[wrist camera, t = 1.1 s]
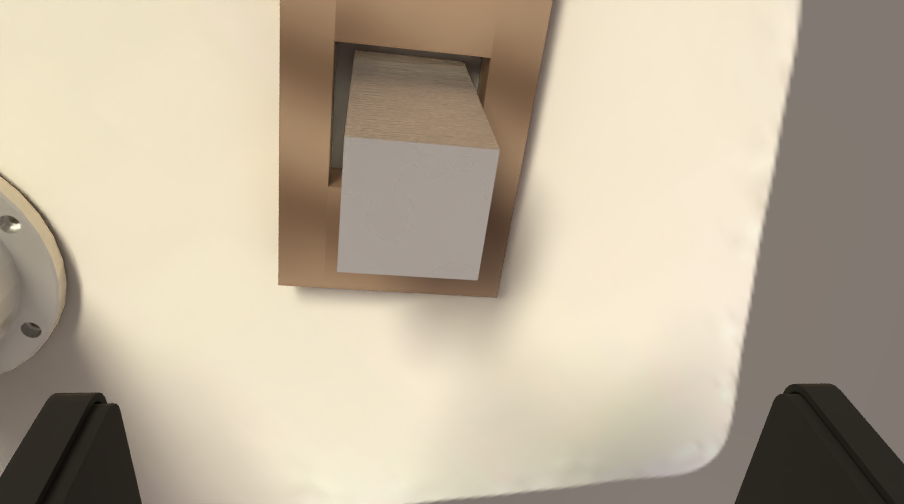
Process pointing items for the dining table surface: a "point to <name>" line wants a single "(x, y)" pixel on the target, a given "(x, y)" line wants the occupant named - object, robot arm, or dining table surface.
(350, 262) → the square peg
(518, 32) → the board
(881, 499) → the robot arm
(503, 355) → the dining table surface
